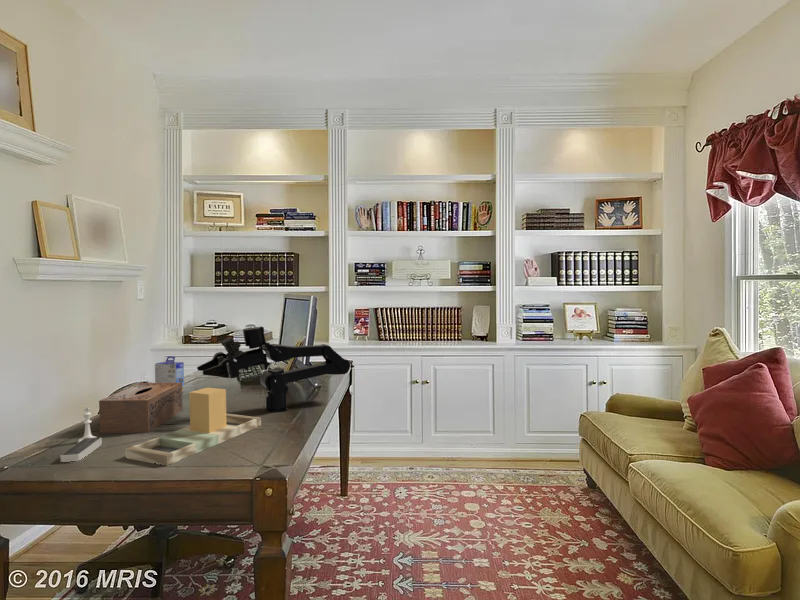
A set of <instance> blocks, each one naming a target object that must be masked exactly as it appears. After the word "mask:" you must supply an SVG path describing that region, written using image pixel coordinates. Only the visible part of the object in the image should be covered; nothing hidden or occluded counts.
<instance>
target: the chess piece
mask: <svg viewBox="0 0 800 600" xmlns="http://www.w3.org/2000/svg"><path fill="white" fill-rule="evenodd" d="M91 410H92V409H91V408H89V406H85V408H83V414H82V415H83V418H84V420H83V422H82V423H83V424H85V425H84V434H83V436H82V437H81V438H79V439H77V443H79V442H80V441H82V440H83V439H85V438H95V437H97V436H94V435H93V434H92V431H91V426H90V424H91V423H92V420H90V419H91V416H92V412H90V411H91ZM84 411H85V412H84Z"/></svg>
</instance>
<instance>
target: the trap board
mask: <svg viewBox="0 0 800 600" xmlns="http://www.w3.org/2000/svg"><path fill="white" fill-rule="evenodd" d="M226 423H227V426H226V427H224V428H221V429H219V430H216V431H214V432H211V433H205V432H198V431H191V430H190V425H188V426H185V427H183V428H180V429H177V430H174V431H172V432H168V433H166V434H163V435H161V436H158V437H155V438H152V439H149V440H147V441H144V442H141V443H138V444H135V445H132V446H129V447H127V448H125V459H126V458H127V460H133V461H138V462H142V463H143V462H144V463H150V464H154V463H156V464H155V465H160V464H161V465H162V466H166V465H168V466H169V464H170V465H172V464H175V463H177V462H179V461H181V459H182V460H184V459H186V458H188V457H190V456H193V455H196V454H197V453H200V452H202V451H204V450H207V449H210V448H212V447H214V446H217V445H219V444H221V443H223V442H226V441H228V440H230V439H233V438H235V437H238V436H240V435H242V434H244V433H248V432H249V431H251V430H254V429H256V428H260V427H261V426H262V418H261V417H258V416H249V415H242V414H241V415H240V414H233V413H226ZM183 458H184V459H183Z"/></svg>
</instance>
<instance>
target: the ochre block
mask: <svg viewBox="0 0 800 600" xmlns="http://www.w3.org/2000/svg"><path fill="white" fill-rule="evenodd" d="M188 393H189V395H188V396H189V426H190V430H191V431H198V432H205V433H211V432H214V431H216V430H219V429H221V428H224V427H226V426H227V423H226V414H227V389H225V388H216V387H215V388H214V387H204V388H201V389H197V390H194V391H190V392H188Z"/></svg>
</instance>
